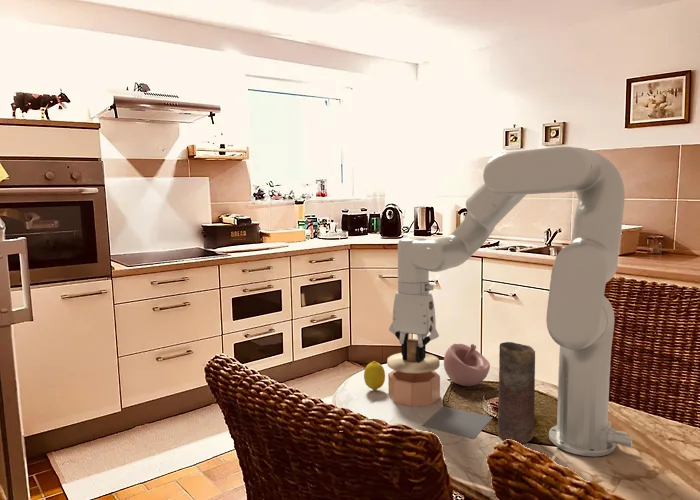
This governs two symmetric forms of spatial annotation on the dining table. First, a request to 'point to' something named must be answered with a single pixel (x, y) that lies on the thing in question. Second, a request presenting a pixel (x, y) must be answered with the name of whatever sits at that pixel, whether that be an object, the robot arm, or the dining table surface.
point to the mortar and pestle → (465, 365)
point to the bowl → (414, 388)
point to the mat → (458, 422)
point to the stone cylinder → (516, 392)
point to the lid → (413, 360)
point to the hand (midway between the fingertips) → (413, 359)
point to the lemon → (374, 375)
